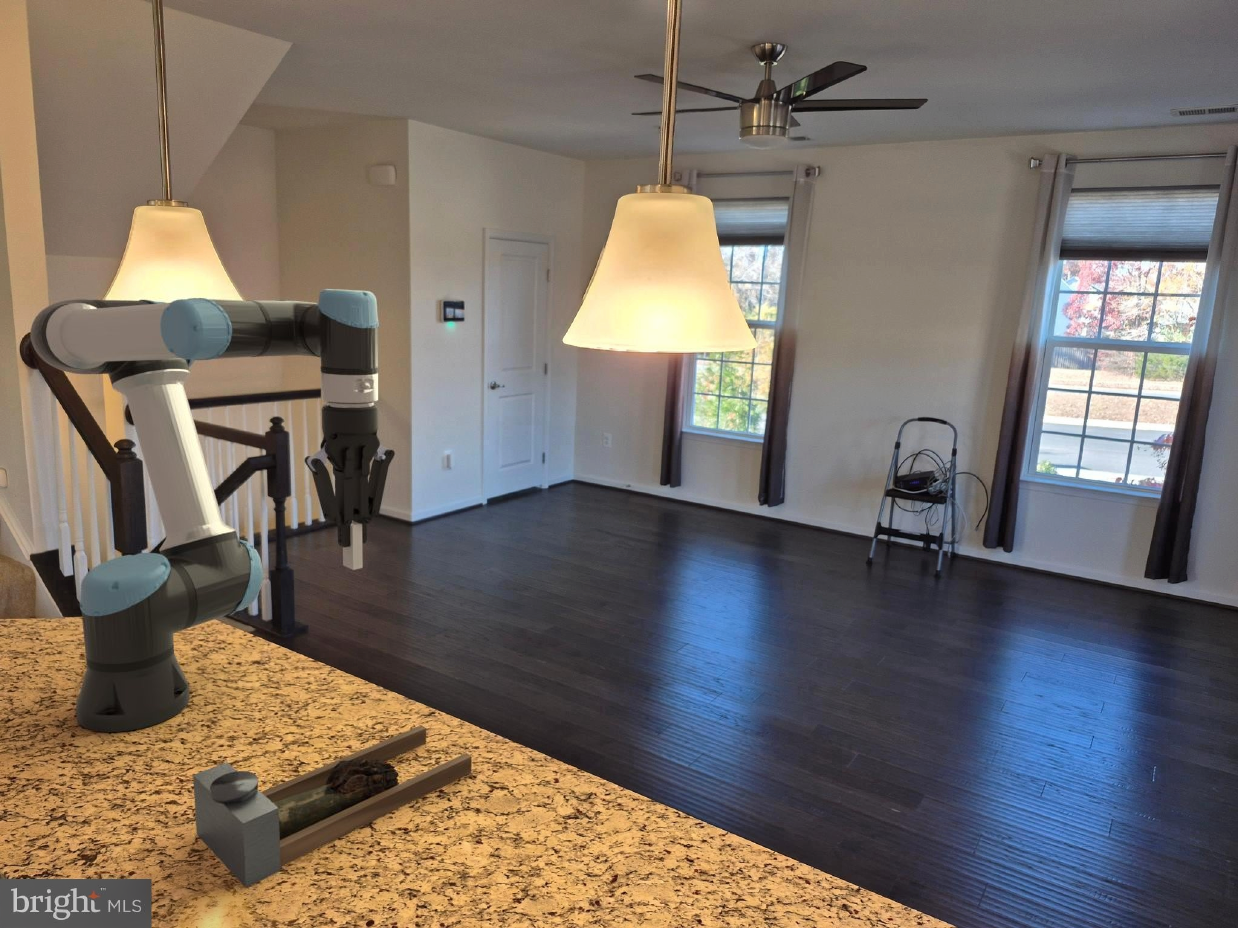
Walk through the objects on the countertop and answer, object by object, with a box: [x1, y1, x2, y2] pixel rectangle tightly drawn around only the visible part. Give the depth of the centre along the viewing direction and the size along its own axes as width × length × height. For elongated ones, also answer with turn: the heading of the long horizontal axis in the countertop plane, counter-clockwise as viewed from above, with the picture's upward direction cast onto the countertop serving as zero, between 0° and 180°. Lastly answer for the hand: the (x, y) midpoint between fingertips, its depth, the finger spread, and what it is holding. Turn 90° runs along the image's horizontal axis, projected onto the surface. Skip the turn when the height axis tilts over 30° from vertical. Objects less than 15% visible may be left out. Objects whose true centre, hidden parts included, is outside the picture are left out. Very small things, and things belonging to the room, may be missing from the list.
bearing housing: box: [192, 761, 282, 889], centre depth 97 cm, size 13×5×9 cm, turn 49°
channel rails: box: [260, 724, 473, 867], centre depth 109 cm, size 12×28×2 cm, turn 139°
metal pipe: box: [274, 758, 400, 840], centre depth 105 cm, size 18×7×6 cm, turn 130°
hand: (352, 566), depth 119 cm, fingers closed
